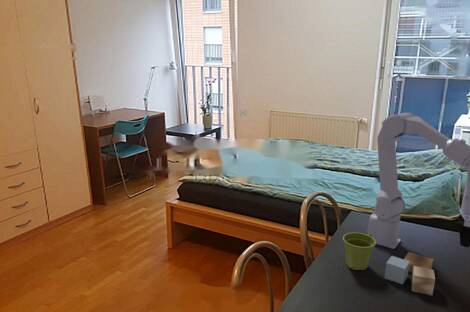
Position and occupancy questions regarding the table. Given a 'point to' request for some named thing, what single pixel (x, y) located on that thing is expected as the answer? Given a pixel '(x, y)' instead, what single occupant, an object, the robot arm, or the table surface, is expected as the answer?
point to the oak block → (418, 261)
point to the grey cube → (397, 269)
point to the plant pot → (358, 250)
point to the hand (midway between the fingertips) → (466, 241)
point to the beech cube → (423, 280)
